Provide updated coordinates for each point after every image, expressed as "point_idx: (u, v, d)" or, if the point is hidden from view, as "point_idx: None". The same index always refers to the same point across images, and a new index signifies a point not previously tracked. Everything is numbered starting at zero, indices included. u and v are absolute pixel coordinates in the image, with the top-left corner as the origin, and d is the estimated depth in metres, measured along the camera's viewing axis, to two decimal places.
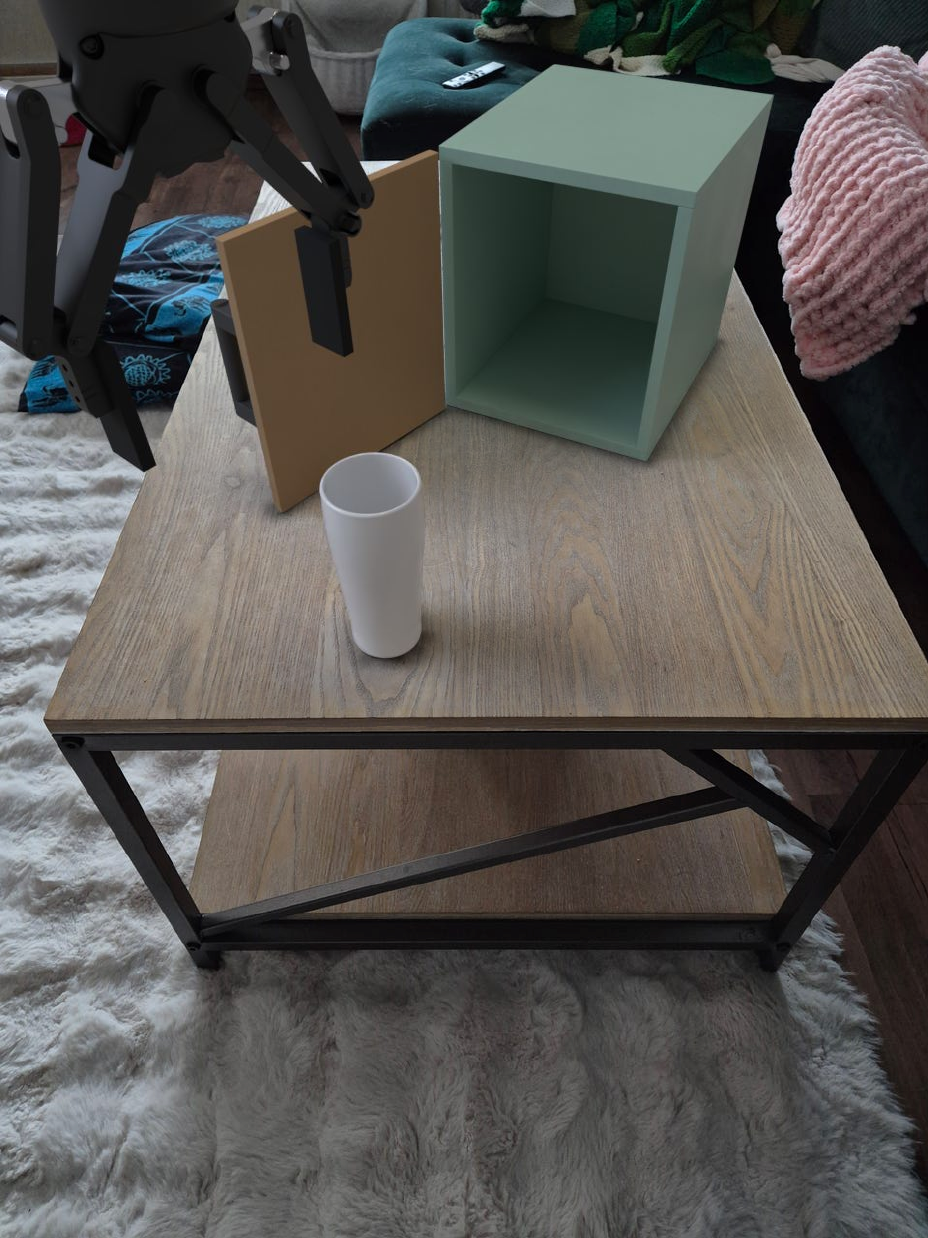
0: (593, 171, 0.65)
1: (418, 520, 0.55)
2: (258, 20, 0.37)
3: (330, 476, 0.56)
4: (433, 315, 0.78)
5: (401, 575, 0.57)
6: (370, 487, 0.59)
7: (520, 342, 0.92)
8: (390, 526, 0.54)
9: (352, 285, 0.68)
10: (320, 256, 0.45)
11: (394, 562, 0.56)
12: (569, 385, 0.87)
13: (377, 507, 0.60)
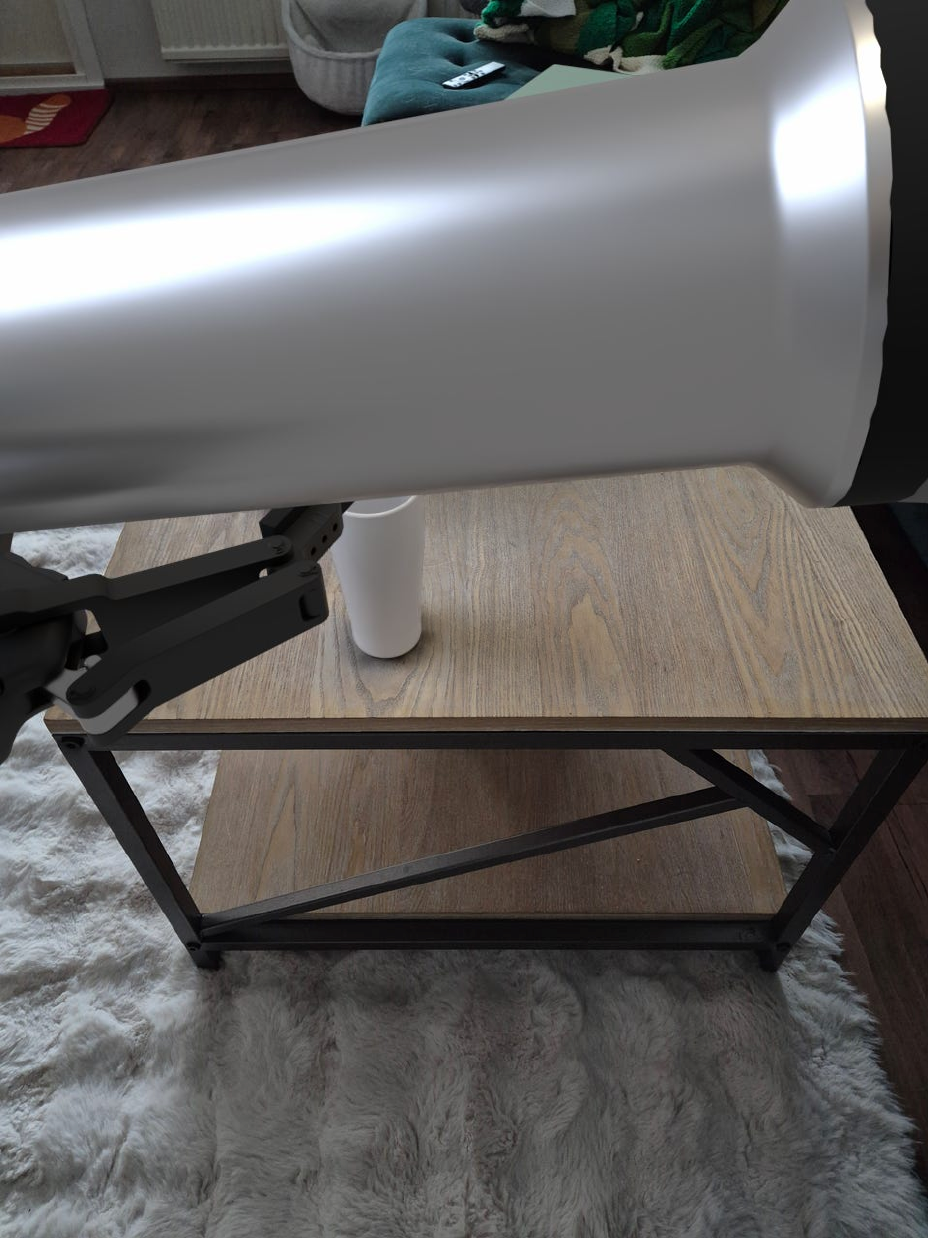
0: None
1: (418, 520, 0.55)
2: None
3: None
4: None
5: (401, 575, 0.57)
6: None
7: None
8: (390, 526, 0.54)
9: None
10: None
11: (394, 562, 0.56)
12: None
13: (377, 507, 0.60)
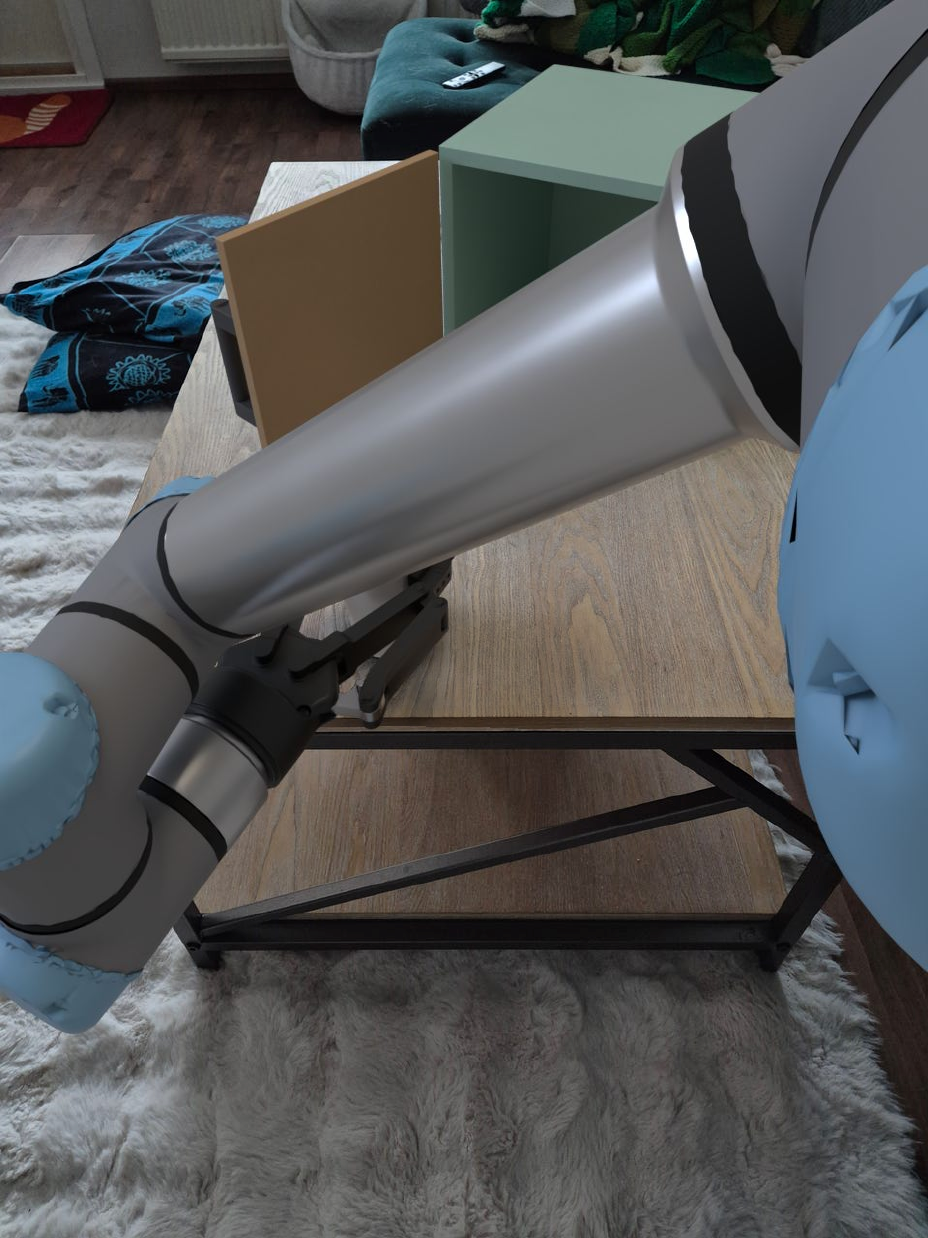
0: (593, 171, 0.65)
1: None
2: None
3: None
4: (433, 315, 0.78)
5: None
6: None
7: None
8: None
9: (352, 285, 0.68)
10: None
11: None
12: None
13: None
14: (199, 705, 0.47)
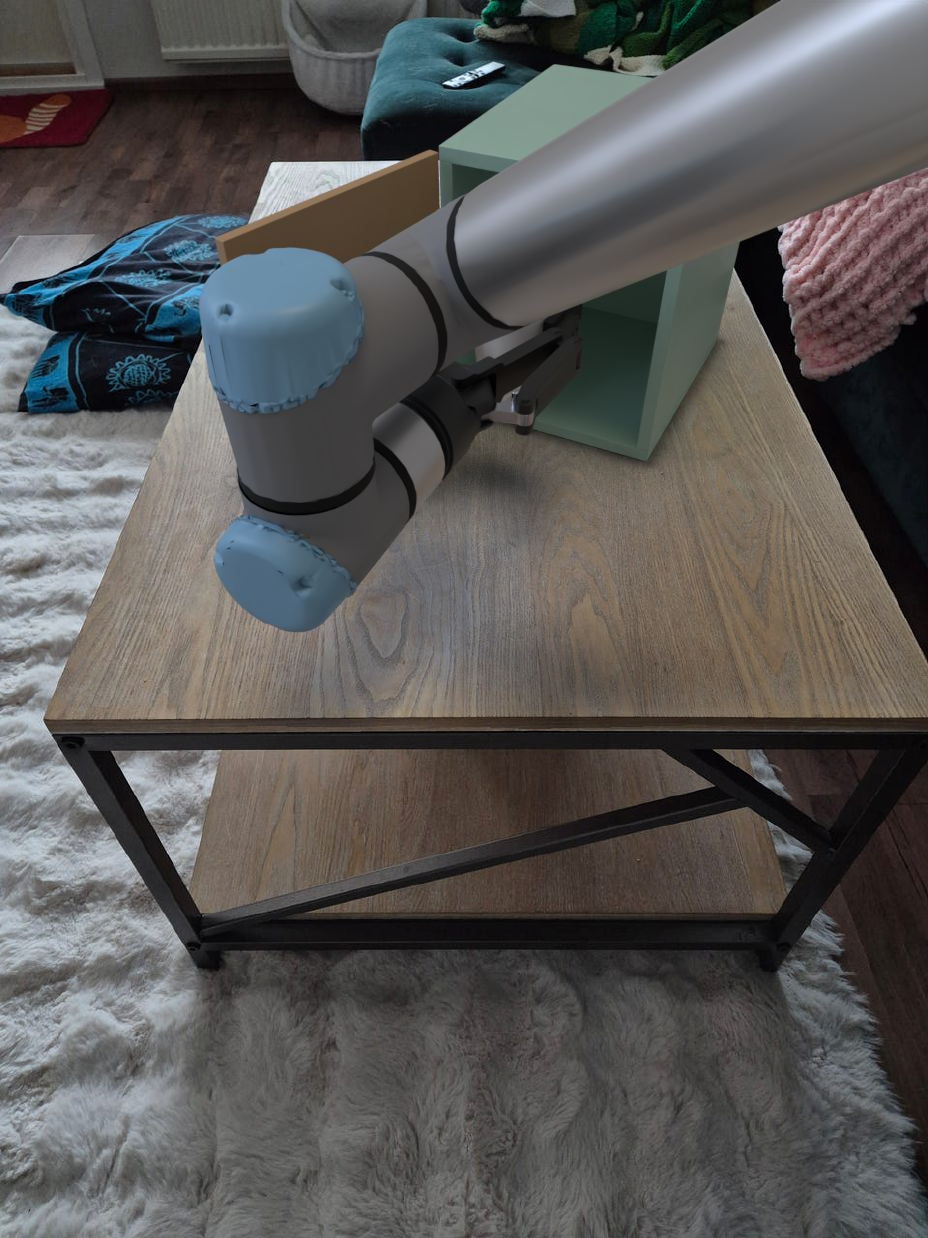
0: None
1: None
2: None
3: None
4: None
5: (537, 322, 0.64)
6: None
7: None
8: None
9: None
10: None
11: None
12: (569, 385, 0.87)
13: None
14: None
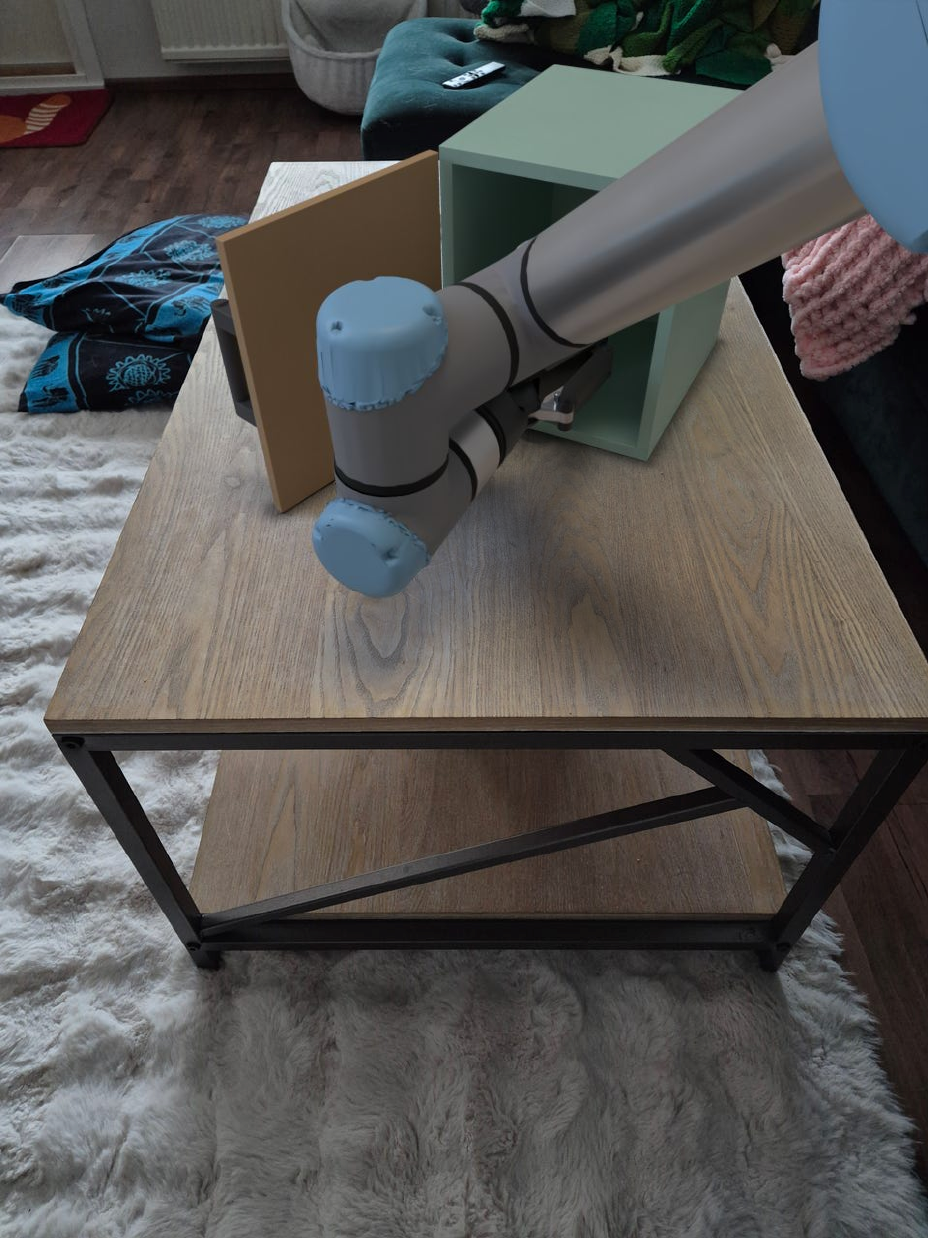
0: (593, 171, 0.65)
1: None
2: None
3: None
4: None
5: None
6: None
7: None
8: None
9: None
10: None
11: None
12: None
13: None
14: None
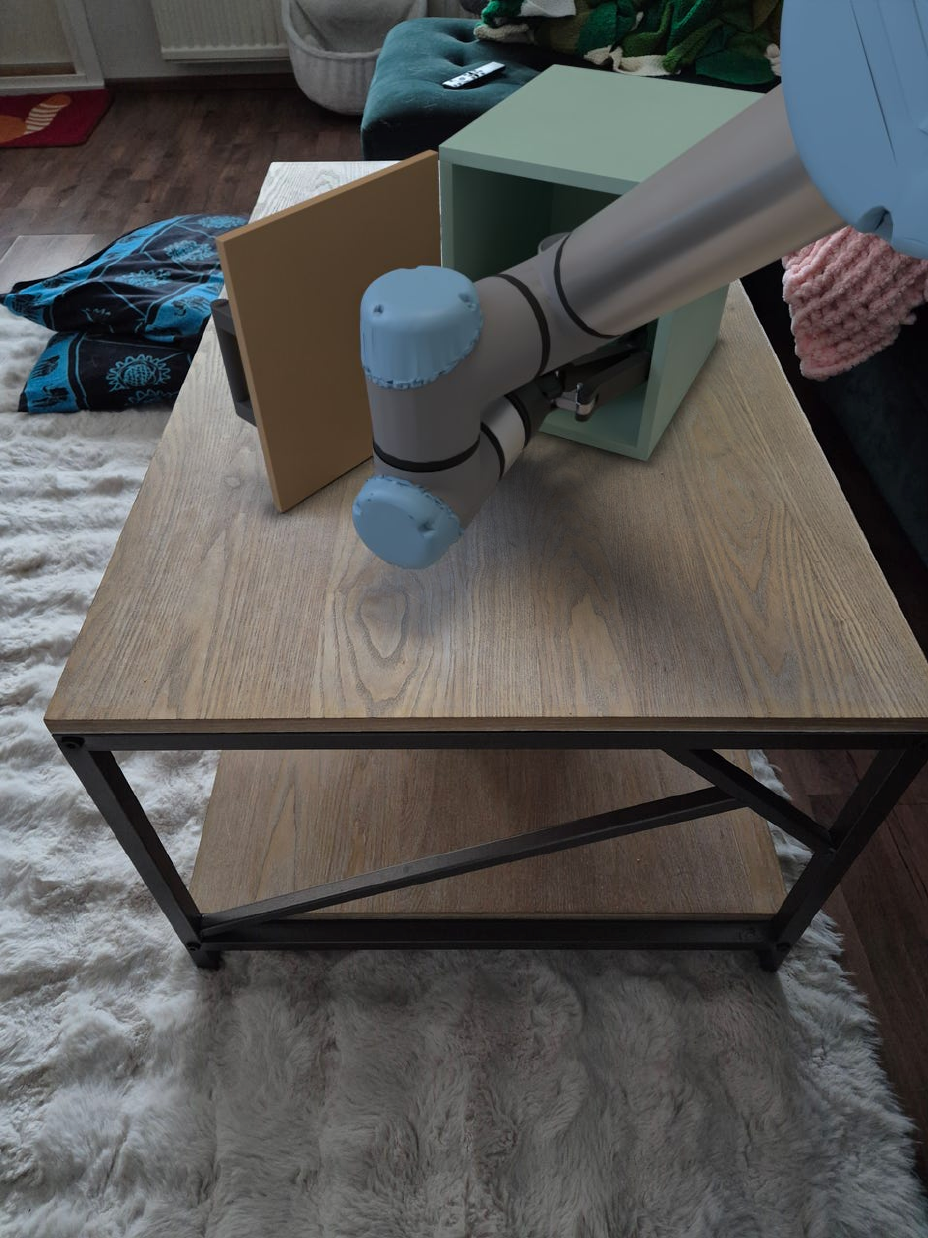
0: (593, 171, 0.65)
1: None
2: None
3: (543, 246, 0.76)
4: None
5: None
6: None
7: None
8: None
9: (352, 285, 0.68)
10: None
11: None
12: None
13: None
14: None
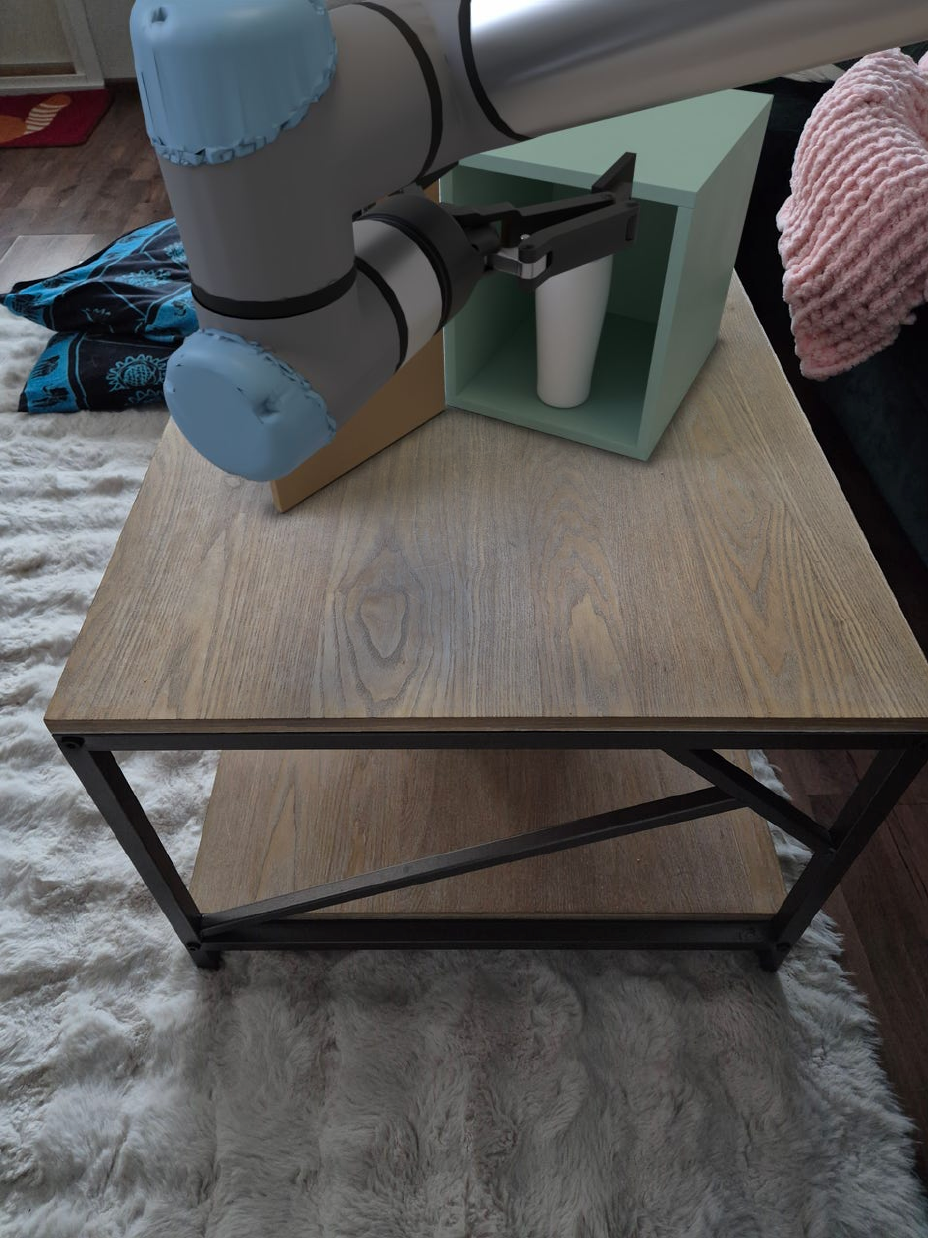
0: (593, 171, 0.65)
1: (610, 277, 0.75)
2: None
3: None
4: None
5: (592, 324, 0.77)
6: None
7: (520, 342, 0.92)
8: (594, 275, 0.73)
9: None
10: None
11: (590, 310, 0.76)
12: None
13: None
14: (373, 215, 0.46)
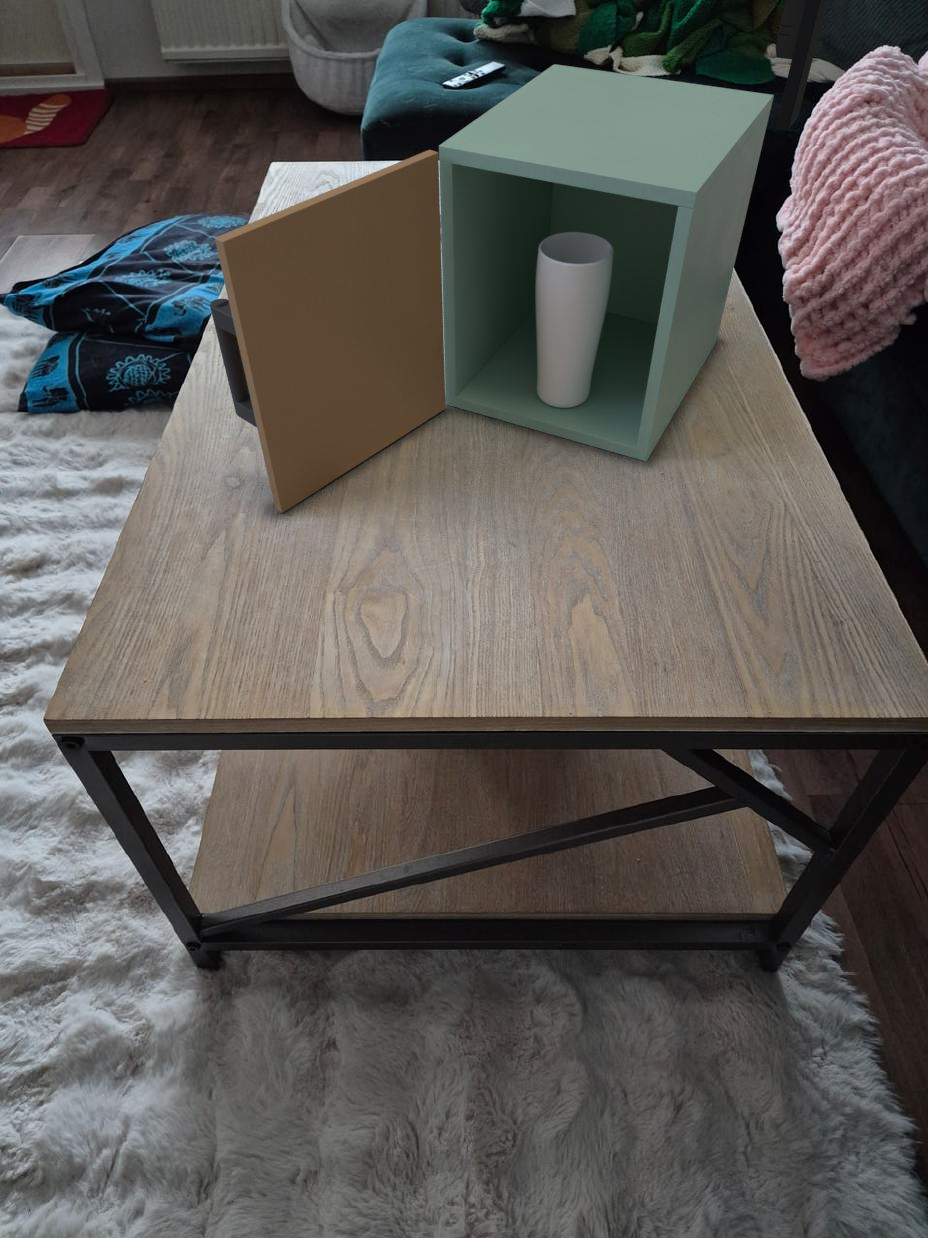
0: (593, 171, 0.65)
1: (610, 277, 0.75)
2: None
3: (543, 246, 0.76)
4: (433, 315, 0.78)
5: (592, 324, 0.77)
6: None
7: (520, 342, 0.92)
8: (594, 275, 0.73)
9: (352, 285, 0.68)
10: None
11: (590, 310, 0.76)
12: None
13: None
14: None
